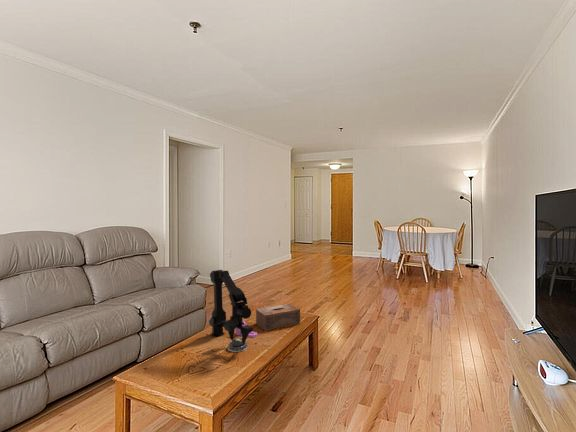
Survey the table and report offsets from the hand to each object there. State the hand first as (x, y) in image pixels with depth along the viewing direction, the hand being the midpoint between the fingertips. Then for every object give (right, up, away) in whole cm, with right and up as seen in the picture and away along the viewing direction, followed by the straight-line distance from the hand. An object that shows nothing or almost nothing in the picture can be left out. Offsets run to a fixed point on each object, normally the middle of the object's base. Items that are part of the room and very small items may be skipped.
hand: (237, 341), depth 185 cm
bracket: (+3, -3, +19) cm, 19 cm away
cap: (0, -3, 0) cm, 3 cm away
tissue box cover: (+21, -3, +38) cm, 44 cm away
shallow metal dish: (0, -3, 0) cm, 3 cm away
